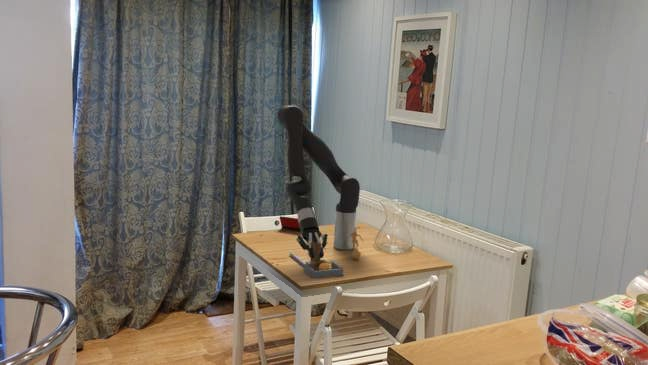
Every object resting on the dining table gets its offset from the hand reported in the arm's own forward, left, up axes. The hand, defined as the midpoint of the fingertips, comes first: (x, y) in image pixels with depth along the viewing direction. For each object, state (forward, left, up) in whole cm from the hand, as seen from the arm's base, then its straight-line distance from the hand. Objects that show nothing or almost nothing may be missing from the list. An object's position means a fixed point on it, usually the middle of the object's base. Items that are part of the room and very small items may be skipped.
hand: (317, 257), depth 230 cm
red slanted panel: (-13, -60, -5) cm, 61 cm away
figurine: (-21, -7, -5) cm, 23 cm away
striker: (0, -1, -4) cm, 4 cm away
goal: (0, +6, -4) cm, 7 cm away
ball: (0, +7, -2) cm, 7 cm away
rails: (0, -8, -4) cm, 9 cm away
